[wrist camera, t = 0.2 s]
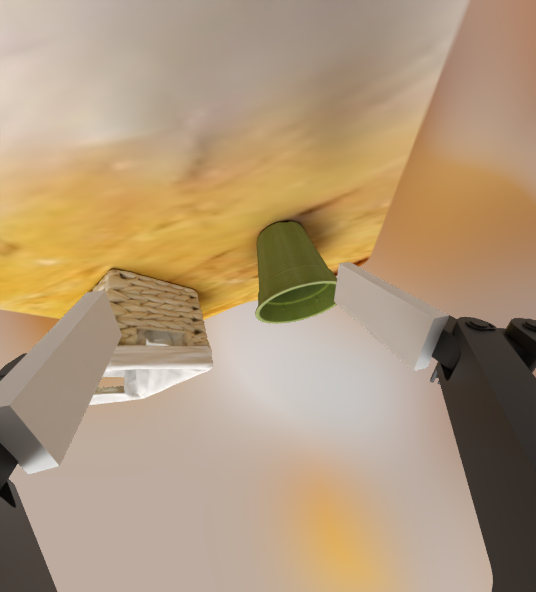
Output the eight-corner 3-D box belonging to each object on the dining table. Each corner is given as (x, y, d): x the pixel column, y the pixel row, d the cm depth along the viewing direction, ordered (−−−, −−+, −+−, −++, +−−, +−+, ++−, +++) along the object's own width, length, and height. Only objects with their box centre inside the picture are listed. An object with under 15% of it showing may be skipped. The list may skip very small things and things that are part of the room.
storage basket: (108, 257, 29) (94, 372, 23) (210, 287, 41) (219, 368, 35) (57, 324, 41) (39, 412, 35) (148, 332, 53) (146, 399, 47)
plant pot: (229, 258, 35) (241, 325, 30) (263, 195, 26) (287, 277, 21) (291, 266, 41) (309, 323, 36) (336, 217, 32) (368, 285, 27)
